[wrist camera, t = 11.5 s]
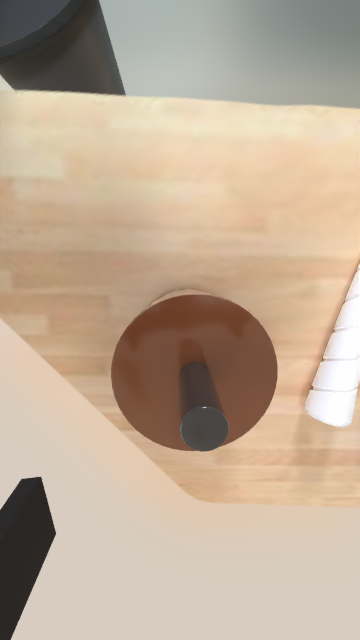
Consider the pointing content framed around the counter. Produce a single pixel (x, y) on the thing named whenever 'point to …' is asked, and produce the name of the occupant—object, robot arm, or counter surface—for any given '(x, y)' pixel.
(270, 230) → the counter surface
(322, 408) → the unicorn horn
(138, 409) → the crock lid
